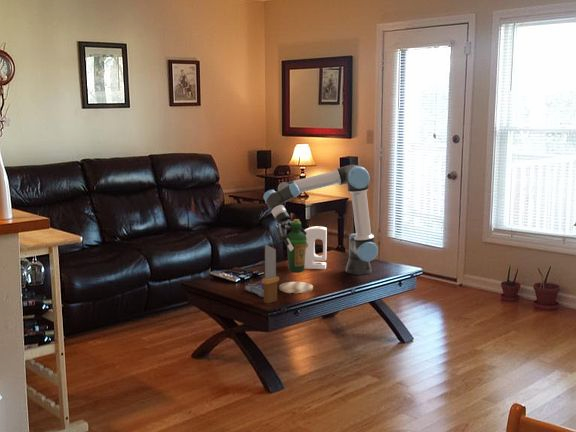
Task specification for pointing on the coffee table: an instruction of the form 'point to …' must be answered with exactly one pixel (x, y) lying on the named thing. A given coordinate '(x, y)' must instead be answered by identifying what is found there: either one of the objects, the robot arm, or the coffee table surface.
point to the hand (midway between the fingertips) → (300, 248)
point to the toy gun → (256, 288)
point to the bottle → (296, 248)
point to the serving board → (296, 287)
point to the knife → (270, 275)
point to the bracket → (310, 255)
